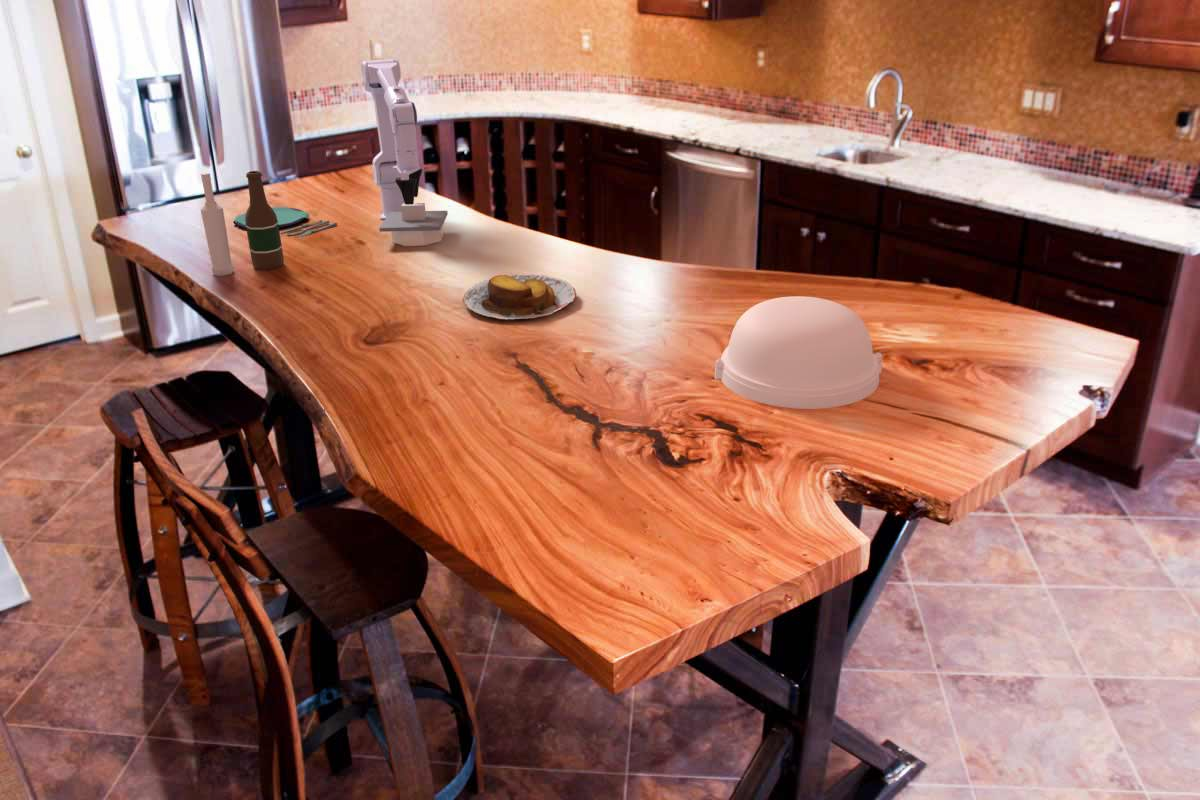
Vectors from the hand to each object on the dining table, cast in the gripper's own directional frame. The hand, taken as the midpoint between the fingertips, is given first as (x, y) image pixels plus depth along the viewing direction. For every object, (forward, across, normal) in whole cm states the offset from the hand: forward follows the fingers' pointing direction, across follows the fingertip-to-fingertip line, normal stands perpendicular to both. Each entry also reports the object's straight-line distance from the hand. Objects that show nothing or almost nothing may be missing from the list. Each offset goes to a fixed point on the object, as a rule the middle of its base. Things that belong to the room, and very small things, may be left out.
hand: (411, 200), depth 285 cm
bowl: (+10, +1, +1) cm, 10 cm away
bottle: (+10, +27, -44) cm, 53 cm away
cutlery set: (+11, -16, -41) cm, 45 cm away
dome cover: (+10, +98, +87) cm, 132 cm away
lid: (+6, +1, 0) cm, 6 cm away
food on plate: (+11, +55, +32) cm, 64 cm away
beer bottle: (+10, +22, -34) cm, 42 cm away
